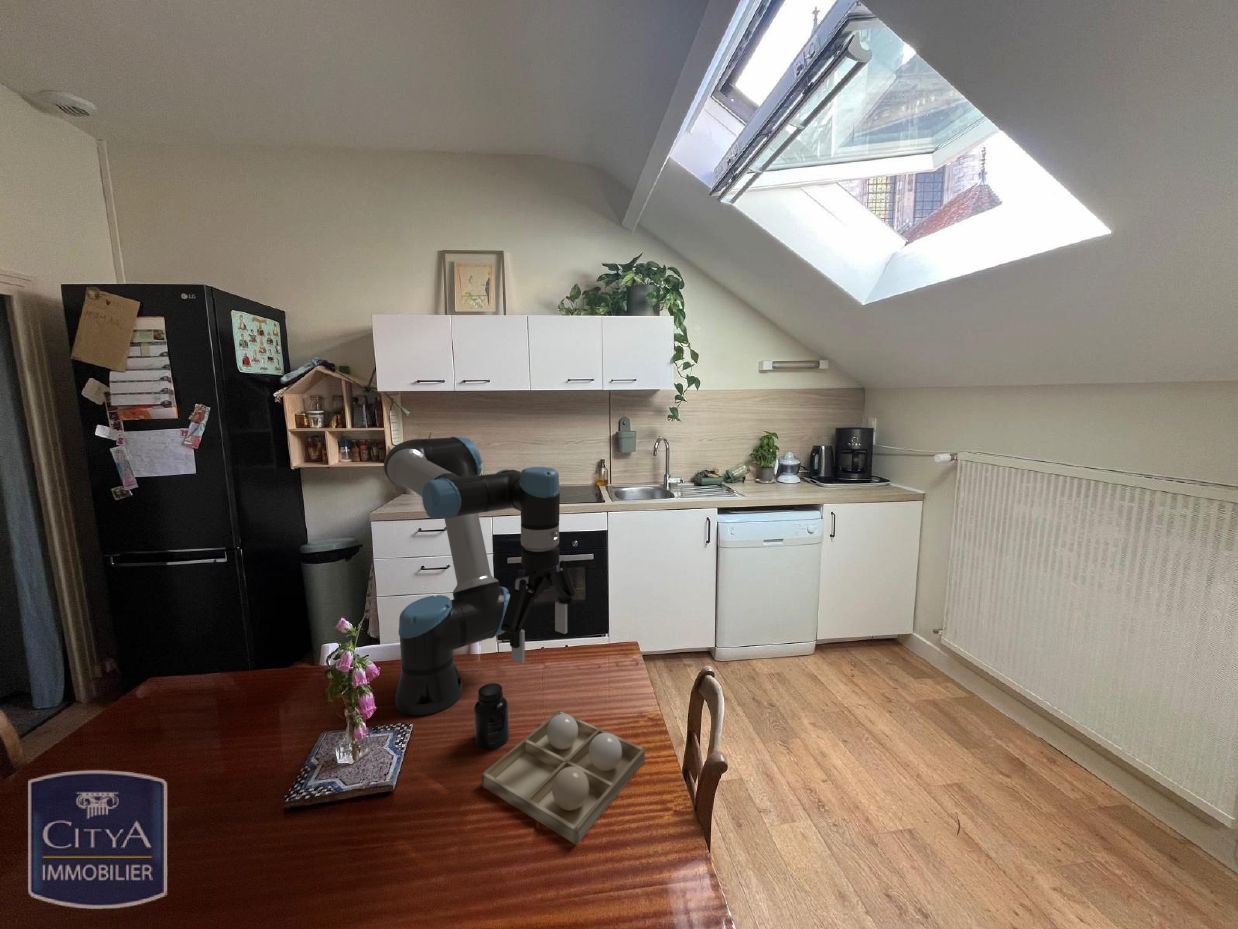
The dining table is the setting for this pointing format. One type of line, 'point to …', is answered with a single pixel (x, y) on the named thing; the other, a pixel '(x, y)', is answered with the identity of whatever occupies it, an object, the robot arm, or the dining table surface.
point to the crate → (535, 767)
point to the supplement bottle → (491, 718)
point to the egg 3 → (605, 752)
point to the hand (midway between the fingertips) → (540, 645)
